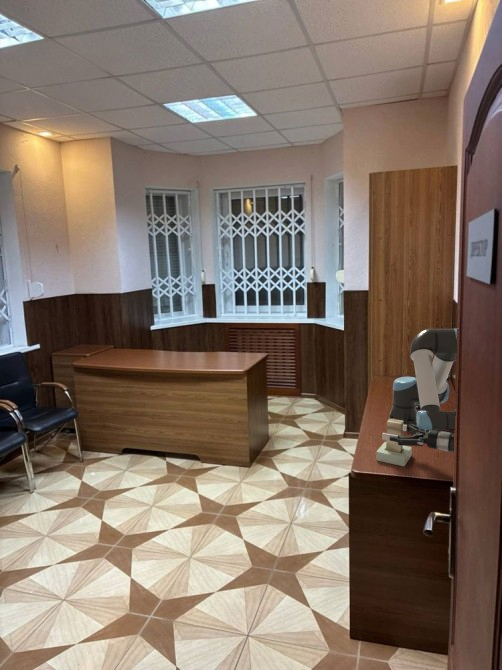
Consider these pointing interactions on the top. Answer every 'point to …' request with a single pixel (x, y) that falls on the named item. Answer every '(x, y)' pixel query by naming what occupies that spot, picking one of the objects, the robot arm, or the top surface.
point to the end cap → (394, 455)
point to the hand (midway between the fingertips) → (387, 430)
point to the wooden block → (395, 429)
